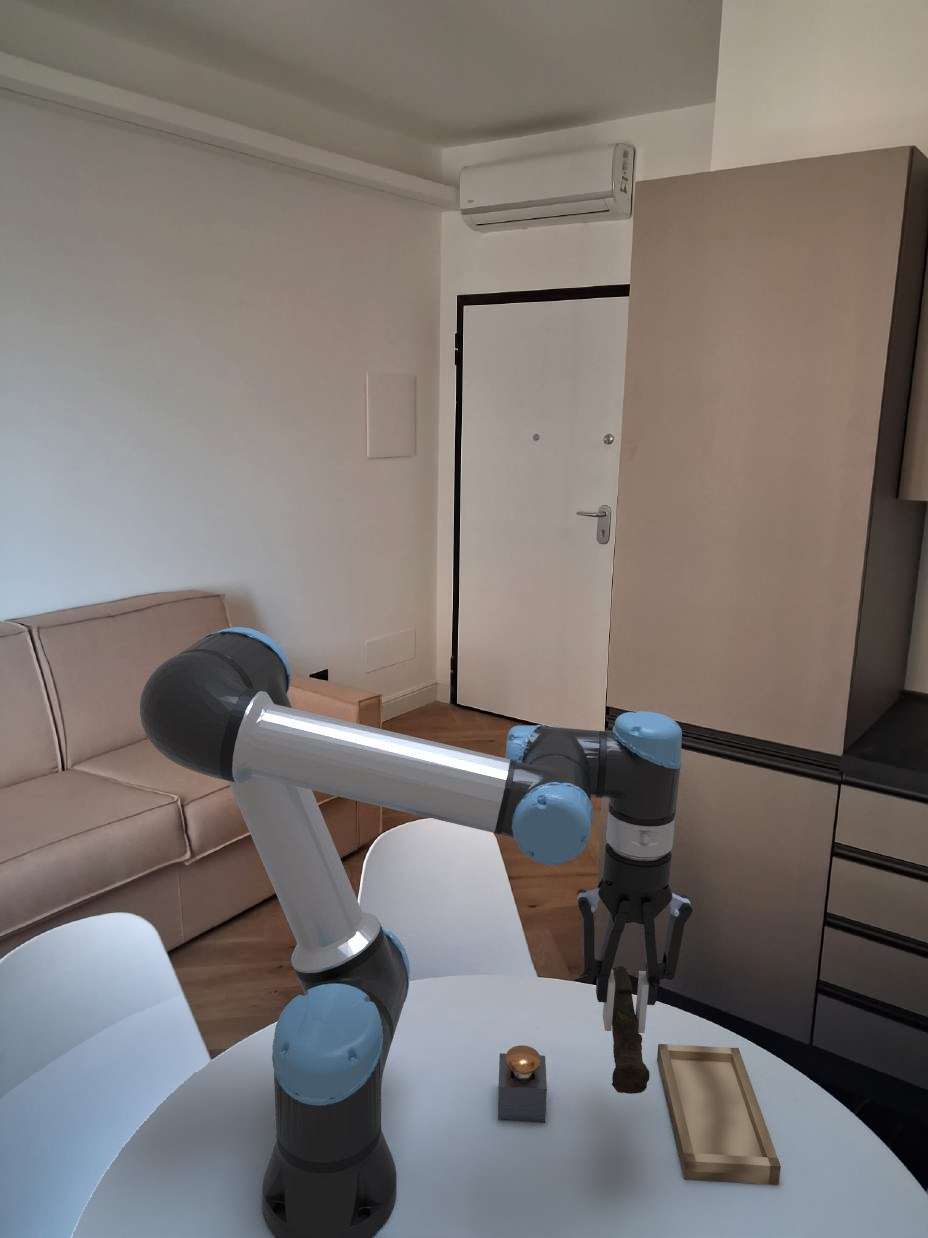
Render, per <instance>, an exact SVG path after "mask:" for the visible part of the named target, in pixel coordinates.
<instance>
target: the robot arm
mask: <svg viewBox="0 0 928 1238" xmlns="http://www.w3.org/2000/svg"><path fill="white" fill-rule="evenodd" d="M291 672H292V671H291V667H290V663H289V660H288V658H287V655H286V653H285V652H284V651H283V649H282V647H281V646H280V645H279V644H278V643H277V642H276V641H275V640H274V639H273V638H271V637H269V635H267V634H265V633H262V632H261V631H258V630H255V629H254V628H249V627H242V626H237V627H236V626H235V627H228V628H224V629H221V630H218V631H216V632H211V633H209V634H208V635H206V636H203V637H201V638H200V639H198V640H197V641H195V643H193V644H192V645H190V646H188V647H187V648H186V649H184V650H183V651H181V652H179V653H178V654H177V655H175V656H172V657H171V658H168V659H167V660H166V661H164V662H163V663H161V664H160V665H159V666H158V667H157V668H156V669H155V670H154V671H153V672H152V674H151V675H150V676H149V678H148V679H147V680H146V683H144V684H145V685H144V688H143V689H142V693H141V695H140V702H139V716H140V721H141V726H142V728H143V730H144V731H143V732H144V733H145V735H146V738H148V740H149V741H150V743H151V745H152V746H153V747H154V749H156V750H157V751H159V753H161V754H162V756H164V757H165V758H166V759H167V760H170V761H171V762H173V763H175V764H176V765H178V766H181V767H183V768H185V769H188V770H190V771H192V772H195V773H199V774H201V775H203V776H208V777H210V778H215V779H219V780H223V781H227V783H228V786H229V787H230V790H231V791H232V794H233V797H234V799H235V801H236V804H237V807H238V809H239V810H240V813H241V816H242V818H243V820H244V823H245V824H246V827H247V829H248V832H249V834H250V837H251V838H252V841H253V843H254V845H255V847H256V850H257V853H258V855H259V857H260V859H261V862H262V864H263V866H264V869H265V872H266V874H267V876H268V878H269V880H270V883H271V884H272V887H273V890H274V893H275V895H276V897H277V899H278V901H279V904H280V907H281V908H282V910H283V914H284V915H285V917H286V920H287V923H288V925H289V927H290V930H291V931H292V934H293V937H294V939H295V942H296V945H295V948H294V949H293V952H292V954H291V957H290V958H291V959H290V960H291V966H292V968H293V969H294V973H295V975H296V977H297V979H298V981H299V984H300V986H301V988H302V991H303V994H304V995H301V994H298V995H297V996H296V997H295V996H294V998H293V999H292V1000H290V1001H289V1002H288V1004H286V1006H285V1007H284V1008H283V1010H282V1011H281V1013H280V1015H279V1018H278V1019H277V1021H276V1025H275V1028H274V1029H275V1030H274V1036H273V1042H272V1046H271V1047H272V1054H271V1055H272V1056H271V1060H272V1068H273V1079H274V1080H273V1081H274V1084H273V1085H274V1102H275V1103H274V1104H275V1127H276V1128H275V1130H276V1141H275V1144H274V1147H273V1150H272V1152H271V1155H270V1159H269V1161H268V1164H267V1167H266V1170H265V1172H264V1175H263V1180H262V1189H261V1193H262V1195H261V1196H262V1211H263V1216H264V1220H265V1223H266V1224H267V1226H268V1228H269V1229H270V1231H271V1233H272V1234H273V1235H274V1236H275V1237H276V1238H372V1237H373V1236H375V1234H377V1233H378V1232H379V1231H380V1230H381V1229H382V1227H383V1226H385V1224H386V1223H387V1221H388V1219H389V1218H390V1216H391V1215H392V1212H393V1210H394V1207H395V1203H396V1199H397V1194H398V1193H397V1189H398V1188H397V1180H398V1179H397V1168H396V1164H395V1163H396V1162H395V1161H394V1158H393V1155H392V1153H391V1150H390V1148H389V1146H388V1145H389V1144H388V1143H387V1140H386V1138H385V1135H384V1133H383V1130H382V1083H383V1077H384V1070H385V1067H386V1063H387V1061H388V1056H389V1053H390V1049H391V1046H392V1043H393V1039H394V1036H395V1033H396V1031H397V1028H398V1027H397V1026H398V1025H399V1020H400V1017H401V1014H402V1011H403V1008H404V1004H405V1002H406V1000H407V998H408V993H409V988H410V973H411V971H410V970H411V969H410V960H409V957H408V953H407V951H406V949H405V946H404V945H403V943H402V942H401V941H400V939H399V938H398V936H396V935H395V933H393V931H391V930H386V929H384V926H382V925H381V922H380V920H379V918H378V917H377V916H376V915H375V914H373V913H370V912H366V911H362V908H361V906H360V903H359V901H358V899H357V897H356V894H355V890H354V889H353V887H352V885H351V882H350V880H349V877H348V875H347V872H346V870H345V868H344V865H343V862H342V860H341V858H340V855H339V853H338V850H337V847H336V846H335V843H334V840H333V838H332V836H331V833H330V830H329V828H328V826H327V824H326V821H325V819H324V816H323V813H322V811H321V809H320V807H319V803H318V802H317V799H316V797H315V795H314V792H313V791H315V792H319V793H323V794H328V795H332V796H335V797H339V798H344V799H348V800H351V801H352V800H353V801H356V802H361V803H364V804H370V805H375V806H378V807H382V808H386V809H391V810H395V811H399V812H404V813H408V814H412V815H417V816H421V817H425V818H429V819H433V820H438V821H441V822H446V823H450V824H455V825H457V826H463V827H467V828H471V829H474V830H475V829H476V830H480V831H484V832H489V833H493V834H495V835H500V836H503V837H507V838H511V839H514V841H515V843H516V845H517V847H518V848H519V850H520V851H521V852H522V853H523V854H524V855H525V856H526V857H528V858H529V859H531V860H532V861H534V862H535V863H539V864H543V865H546V866H547V865H548V866H556V865H563V864H564V863H565V864H566V863H568V862H570V861H573V860H574V859H576V858H577V857H578V856H579V855H581V853H582V852H583V851H584V850H585V848H586V847H587V845H588V843H589V840H590V838H591V831H592V829H591V828H592V824H593V820H594V814H593V810H594V807H593V804H592V798H596V799H603V798H604V799H609V802H608V809H607V811H608V812H607V824H606V833H605V834H606V835H605V839H606V844H605V848H604V862H603V873H602V878H601V880H600V881H599V882H598V885H597V888H595V889H591V890H589V891H586V890H585V889H579V890H577V892H576V898H577V906H578V908H579V910H580V913H581V917H582V918H581V920H582V921H581V923H582V924H581V925H582V926H581V927H582V936H581V937H582V963H583V970H584V971H583V972H584V973H585V975H587V976H592V975H593V976H595V977H596V983H595V984H596V986H595V993H596V999H597V1002H598V1003H603V1009H602V1019H603V1020H602V1021H603V1027H604V1032H612V1017H613V1005H614V993H615V979H614V973H613V966H614V964H615V963H614V962H615V958H616V954H617V951H618V949H619V944H620V940H621V937H622V933H623V932H624V930H625V926H626V924H632V923H635V924H638V925H641V930H642V932H641V933H642V941H643V942H642V943H643V951H644V952H643V954H644V963H645V970H638V981H637V983H638V984H637V991H636V993H637V994H636V1003H635V1004H636V1005H635V1017H636V1022H637V1028H638V1033H639V1034H645V1031H646V1030H645V1029H646V1023H647V1022H646V1020H647V1009H648V1006H655V1004H656V1003H657V997H658V988H659V987H660V986H661V985H660V984H661V980H665V979H666V980H667V981H672V980H674V979H675V976H676V974H677V973H676V972H677V967H678V961H679V956H680V950H681V945H682V941H683V937H684V935H683V934H684V929H685V925H686V923H687V921H689V919H690V917H691V915H692V914H693V907H692V904H691V901H690V898H689V897H688V895H686V894H681V895H677V894H676V893H673V892H672V890H671V886H670V877H671V865H672V858H673V857H672V849H673V845H674V844H673V843H674V835H675V834H674V832H675V819H676V813H677V812H676V811H677V803H678V793H679V785H680V776H681V768H682V765H683V763H682V759H681V758H682V739H683V737H682V736H683V731H682V728H681V727H680V725H679V724H678V722H677V721H676V720H674V719H673V718H671V717H669V716H667V715H664V714H661V713H659V712H653V711H646V710H645V711H644V710H639V711H636V712H631V711H628V712H624V713H622V714H620V715H618V716H617V718H616V719H615V721H614V726H613V727H612V730H595V729H594V730H591V729H583V728H582V729H580V728H569V727H557V726H545V725H544V724H537V725H514V726H513V727H511V728H510V729H509V731H508V733H507V738H506V745H505V746H506V748H505V756H504V757H501V756H496V755H493V754H490V753H489V754H488V753H484V752H480V751H476V750H471V749H467V748H462V747H458V746H454V745H450V744H446V743H441V742H437V741H432V740H428V739H424V738H420V737H416V736H411V735H408V734H402V733H400V732H399V733H398V732H394V731H391V730H386V729H383V728H377V727H373V726H369V725H365V724H360V723H356V722H352V721H349V720H343V719H339V718H335V717H331V716H326V715H322V714H318V713H314V712H309V711H305V710H303V709H296V708H293V706H292V704H291V701H290V699H289V697H288V692H289V690H290V686H291V685H290V684H291V677H292V676H291V675H292V674H291ZM599 901H602V903H603V904H604V906H605V907H606V909H607V910H608V911H609V918H608V919H609V920H608V922H607V927H606V931H605V934H604V938H603V941H602V945H601V950H600V953H599V957H598V959H596V958H595V917H594V912H596V910H597V909H598V907H599V906H598V902H599ZM668 905H669V906H668ZM667 906H668V908H669V911H670V915H669V917H668V918H669V919H668V923H667V924H668V925H667V929H666V930H667V931H666V935H665V941H664V947H663V950H662V951H663V952H662V958H661V961H660V962H658V955H657V954H658V953H657V942H656V928H655V927H656V925H655V919H656V918H657V917H658V916H659V915H660V914H661V912H662V911H663V910H665V908H666V907H667Z"/></svg>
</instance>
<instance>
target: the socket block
mask: <svg viewBox="0 0 928 1238" xmlns="http://www.w3.org/2000/svg"><path fill="white" fill-rule="evenodd" d="M506 1054H507V1053H502V1052H501V1053H499V1063H498V1064H499V1065H498V1091H497V1092H498V1095H497V1101H498V1102H497V1107H498V1108H497V1121H507V1122H523V1123H524V1122H525V1123H526V1122H527V1123H528V1122H529V1123H543V1124H544V1123H546V1117H547V1115H546V1113H547V1096H548V1086H547V1083H548V1082H547V1066H546V1065H547V1064H546V1062H547V1061H546V1055H544V1054H543V1055H541V1054H539V1055H540V1067H539V1069H538V1070H537V1071H536V1072H534V1073H532V1080H530V1079H513V1072H512V1071H511V1070H510V1069H509V1068H508V1067H507V1065H506Z"/></svg>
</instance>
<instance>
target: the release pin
mask: <svg viewBox="0 0 928 1238" xmlns="http://www.w3.org/2000/svg"><path fill="white" fill-rule="evenodd" d="M505 1054H506V1065H507V1067H508V1068H509V1069H510V1070H511V1071H512V1072H513V1079H530V1080H532V1073H534V1072H536V1071H537V1070H538V1069H539V1067H540V1055H541V1054H540V1053H539V1052H538V1050H537V1049H535V1048H534V1047H532V1046H528V1045H524V1044H523V1045H522V1044H521V1045H520V1044H519V1045H515V1046H512V1047H511V1048H509V1049H508V1050H507V1052H506V1053H505Z"/></svg>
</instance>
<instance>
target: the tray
mask: <svg viewBox="0 0 928 1238" xmlns="http://www.w3.org/2000/svg"><path fill="white" fill-rule="evenodd" d="M656 1055H657V1056H656V1061H657V1066H658V1070H659V1074H660V1075H659V1077H660V1078H661V1083H662V1089H663V1093H664V1097H665V1102H666V1106H667V1110H668V1115H669V1119H670V1123H671V1129H672V1133H673V1137H674V1141H675V1145H676V1150H677V1156H678V1159H679V1164H680V1168H681V1172H682V1176H683V1180H685V1181H686V1180H687V1181H688V1180H689V1181H690V1180H691V1181H703V1182H704V1181H707V1182H719V1183H720V1182H724V1183H739V1184H740V1183H742V1184H755V1185H772V1186H773V1185H774V1186H775V1185H776V1186H779V1185H780V1176H781V1170H782V1169H781V1168H782V1166H781V1163H780V1159H779V1158H778V1155H777V1152H776V1149H775V1146H774V1143H773V1141H772V1138H771V1135H770V1133H769V1130H768V1126H767V1123H766V1120H765V1118H764V1116H763V1113H762V1109H761V1107H760V1104H759V1102H758V1099H757V1096H756V1092H755V1091H754V1088H753V1084H752V1081H751V1078H750V1076H749V1073H748V1071H747V1068H746V1065H745V1062H744V1059H743V1056H742V1053H741V1051H740V1047H726V1046H707V1045H705V1046H704V1045H690V1044H689V1045H686V1044H683V1045H682V1044H670V1043H669V1044H667V1043H658V1044H657V1054H656Z"/></svg>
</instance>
